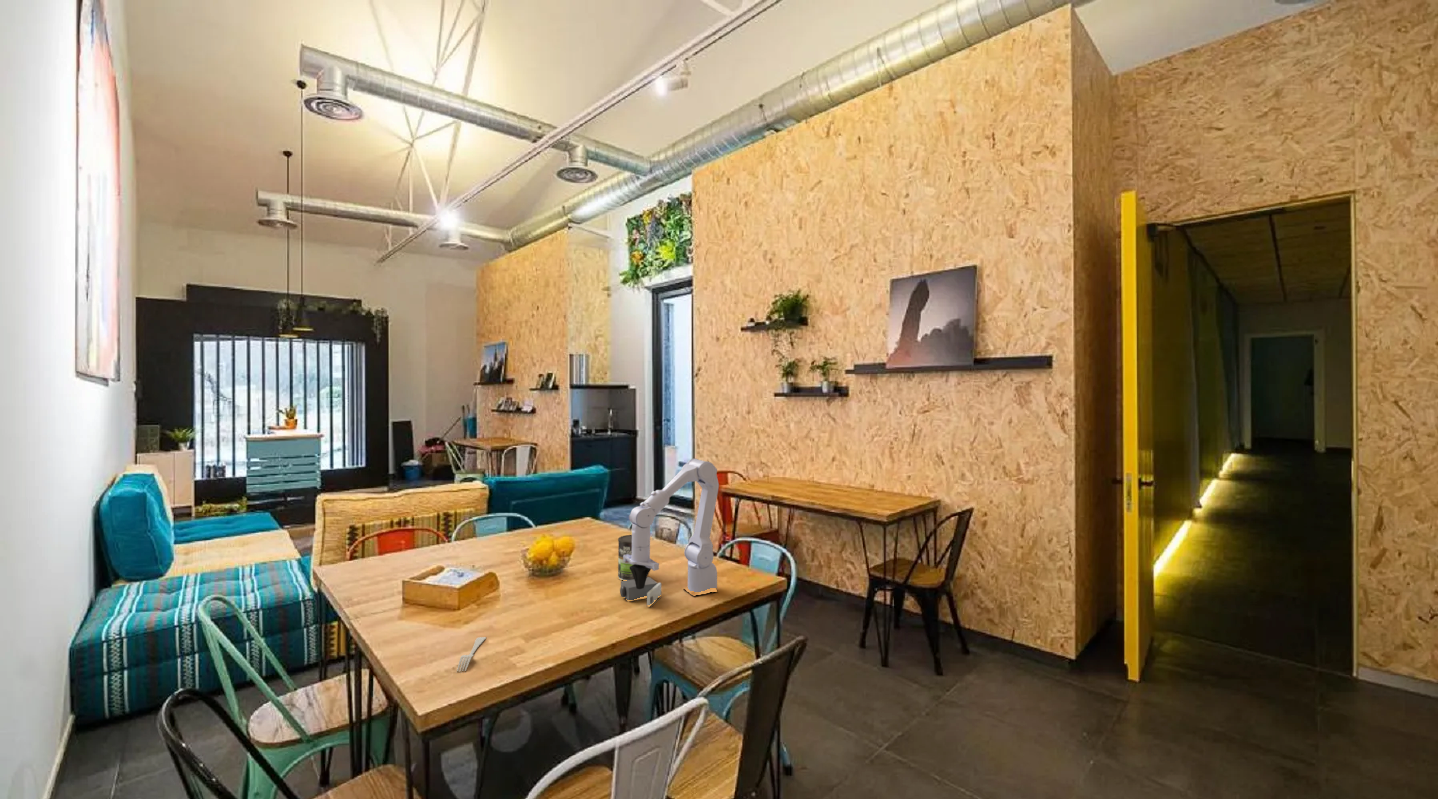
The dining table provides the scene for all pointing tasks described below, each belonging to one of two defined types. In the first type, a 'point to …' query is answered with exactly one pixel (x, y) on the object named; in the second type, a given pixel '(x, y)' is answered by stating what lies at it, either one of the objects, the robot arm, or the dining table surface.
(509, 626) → the dining table surface
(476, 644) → the fork
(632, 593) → the camera case
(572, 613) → the dining table surface
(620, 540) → the coffee can
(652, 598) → the side door
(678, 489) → the robot arm
